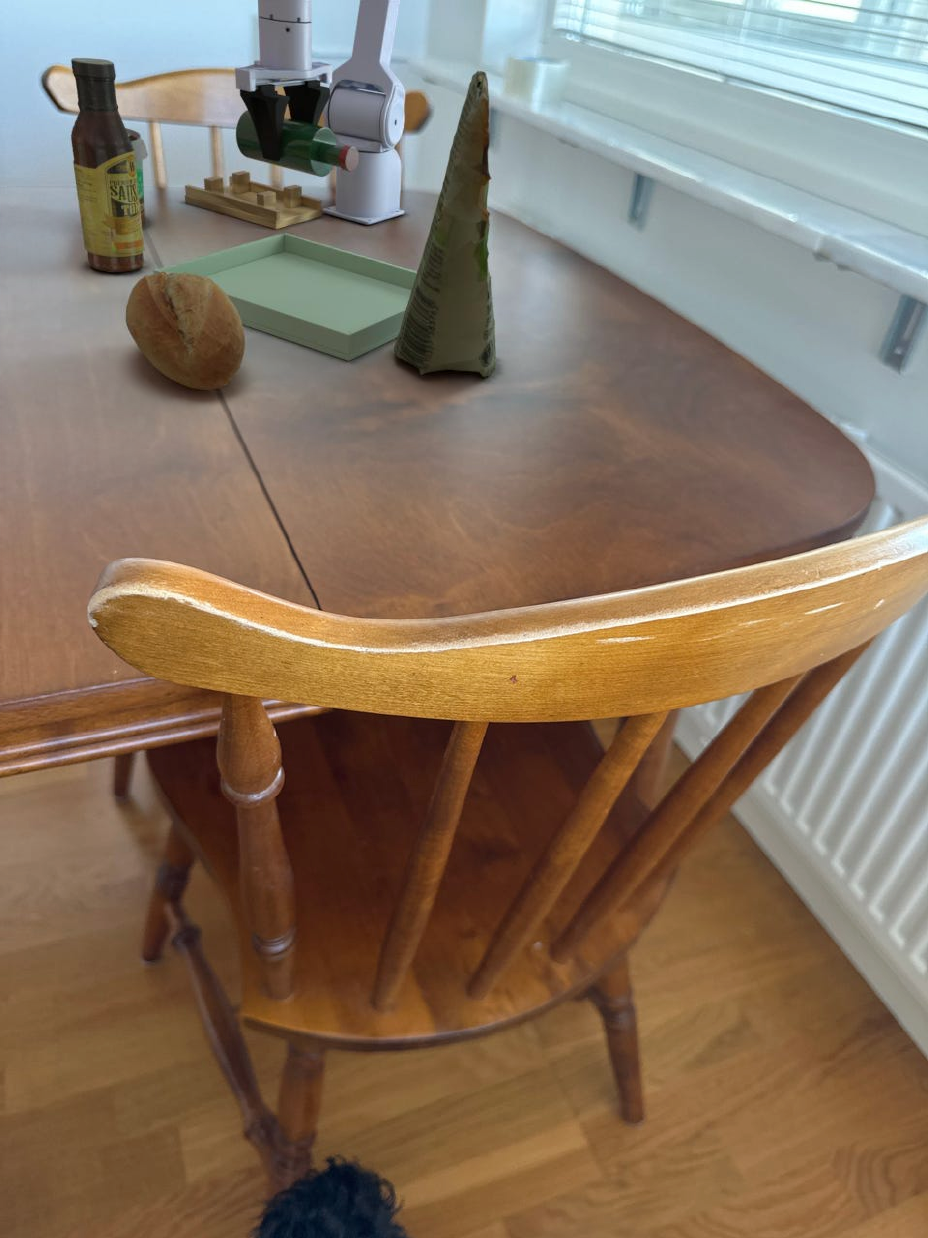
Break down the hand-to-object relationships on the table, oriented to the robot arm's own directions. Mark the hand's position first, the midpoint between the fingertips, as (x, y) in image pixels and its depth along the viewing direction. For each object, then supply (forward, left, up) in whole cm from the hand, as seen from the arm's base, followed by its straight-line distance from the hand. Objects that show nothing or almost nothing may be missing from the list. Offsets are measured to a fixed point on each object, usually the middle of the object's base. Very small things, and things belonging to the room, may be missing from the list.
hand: (287, 156), depth 106 cm
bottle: (0, +2, -1) cm, 2 cm away
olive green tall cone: (+17, +34, -11) cm, 39 cm away
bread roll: (+35, +17, -11) cm, 40 cm away
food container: (+8, -19, -11) cm, 23 cm away
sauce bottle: (+20, -8, -11) cm, 24 cm away
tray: (+13, +14, -10) cm, 22 cm away
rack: (-10, -14, -10) cm, 20 cm away
